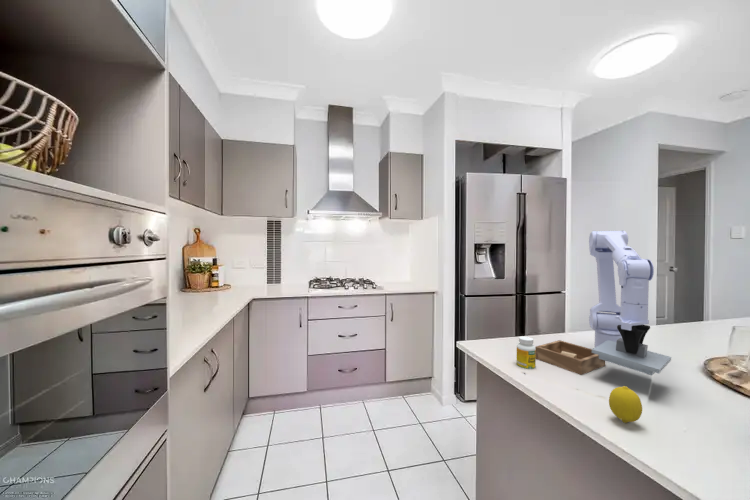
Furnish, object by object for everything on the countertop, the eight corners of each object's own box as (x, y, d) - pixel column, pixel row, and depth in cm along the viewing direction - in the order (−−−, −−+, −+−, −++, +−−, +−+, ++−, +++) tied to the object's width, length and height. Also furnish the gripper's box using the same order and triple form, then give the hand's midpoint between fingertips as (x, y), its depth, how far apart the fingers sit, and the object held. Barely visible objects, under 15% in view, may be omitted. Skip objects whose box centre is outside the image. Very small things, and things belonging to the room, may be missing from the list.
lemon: (602, 415, 67) (602, 381, 66) (624, 414, 67) (625, 380, 67) (624, 431, 61) (625, 393, 61) (649, 430, 62) (650, 392, 61)
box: (559, 354, 104) (559, 340, 104) (605, 368, 92) (605, 353, 92) (535, 361, 98) (535, 346, 97) (581, 378, 85) (581, 361, 85)
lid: (607, 347, 91) (609, 330, 91) (670, 365, 80) (672, 346, 80) (590, 357, 83) (592, 338, 83) (658, 379, 72) (660, 357, 71)
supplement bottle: (522, 363, 96) (522, 334, 95) (538, 369, 91) (539, 339, 91) (512, 367, 93) (513, 337, 93) (529, 373, 88) (530, 342, 88)
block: (562, 356, 99) (562, 351, 99) (576, 360, 96) (576, 354, 96) (559, 360, 96) (559, 354, 96) (573, 363, 93) (573, 357, 93)
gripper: (623, 297, 88) (622, 342, 89) (607, 303, 80) (606, 352, 80) (655, 301, 83) (654, 349, 83) (641, 307, 74) (640, 361, 74)
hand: (633, 351), depth 81 cm, fingers closed on lid, 3 cm apart
